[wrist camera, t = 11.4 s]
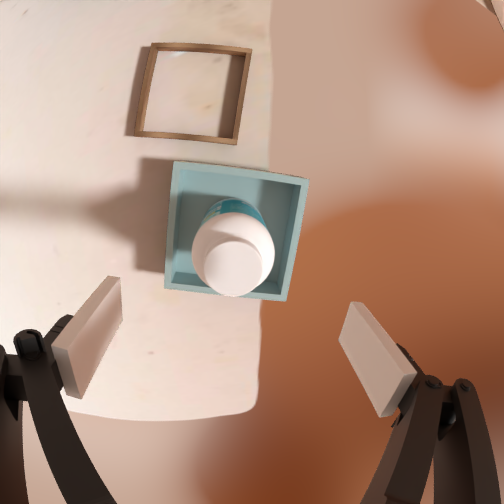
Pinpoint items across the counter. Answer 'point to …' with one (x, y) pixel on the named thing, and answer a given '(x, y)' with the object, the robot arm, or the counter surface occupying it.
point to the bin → (224, 187)
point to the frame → (193, 48)
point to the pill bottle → (233, 248)
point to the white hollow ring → (499, 11)
